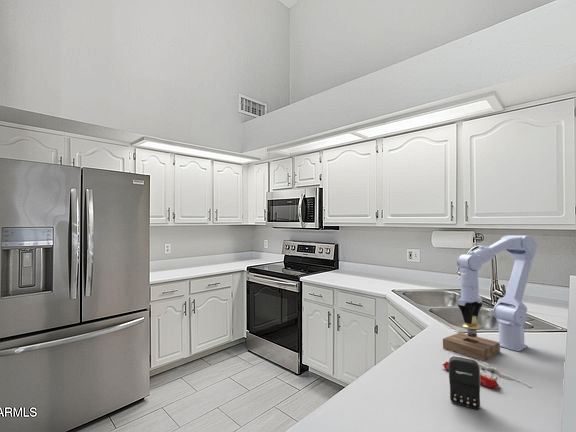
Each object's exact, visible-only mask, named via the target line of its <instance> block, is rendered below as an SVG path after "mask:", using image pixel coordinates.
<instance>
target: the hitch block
mask: <svg viewBox="0 0 576 432" xmlns="http://www.w3.org/2000/svg"><path fill="white" fill-rule="evenodd" d="M442 348H443V349H444V350H448V351H451V352H453V353H457V354H460V355H462V356H463V355H464V356H465V357H466V356H467V357H469V358H472V359H477V360H480V361H482V362H486V360H488V359H490V358H492V357H494V356H496V355H498V354H499V353H501V347H500V342H499V341H496V340H492V339H488V338H484V337H480V336H477V337H470V336H468V333H465V332H461V331H460V332H458V333H454V334H451V335H449V336H446V337H444V338H442Z"/></svg>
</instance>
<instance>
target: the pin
mask: <svg viewBox="0 0 576 432" xmlns="http://www.w3.org/2000/svg"><path fill="white" fill-rule="evenodd" d="M477 320H478V318H477V319H476V316H475V315H473V316H472V323H471V324H468V323H465V322H464V323H462V324H461V325H462V328H464V329H467V330H466V331H467V333H466V334H468V336H470V337H478V334H477V333H478V332H477V331H479V330H481V329H482V325H480V324H478V321H477Z"/></svg>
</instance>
